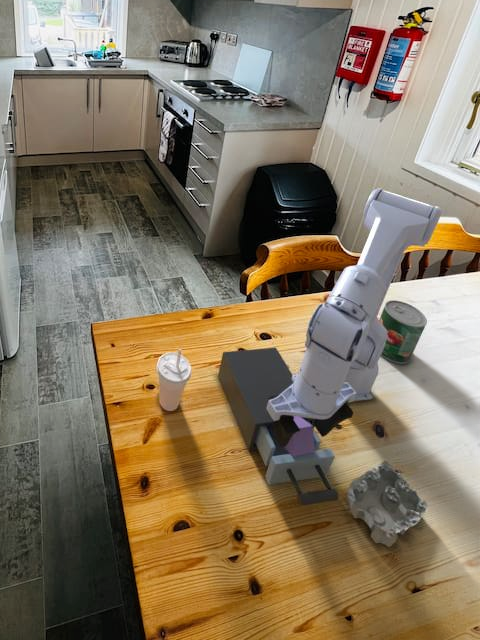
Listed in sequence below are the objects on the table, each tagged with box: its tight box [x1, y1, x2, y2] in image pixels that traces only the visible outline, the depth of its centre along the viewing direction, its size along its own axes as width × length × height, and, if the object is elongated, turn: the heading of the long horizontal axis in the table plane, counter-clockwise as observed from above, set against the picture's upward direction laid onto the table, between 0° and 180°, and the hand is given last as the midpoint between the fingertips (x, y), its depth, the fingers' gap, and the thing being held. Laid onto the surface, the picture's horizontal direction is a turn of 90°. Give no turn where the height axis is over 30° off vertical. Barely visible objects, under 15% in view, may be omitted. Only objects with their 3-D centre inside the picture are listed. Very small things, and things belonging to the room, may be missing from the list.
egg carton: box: [346, 460, 428, 548], centre depth 61 cm, size 11×8×4 cm
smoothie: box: [156, 348, 192, 412], centre depth 74 cm, size 6×6×14 cm
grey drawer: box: [255, 421, 340, 507], centre depth 67 cm, size 18×10×5 cm, turn 8°
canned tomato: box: [378, 299, 428, 365], centre depth 89 cm, size 8×8×11 cm
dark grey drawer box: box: [217, 347, 316, 451], centre depth 75 cm, size 15×12×7 cm
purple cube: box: [284, 416, 315, 457], centre depth 65 cm, size 4×4×4 cm
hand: (299, 435), depth 64 cm, fingers open, 7 cm apart
